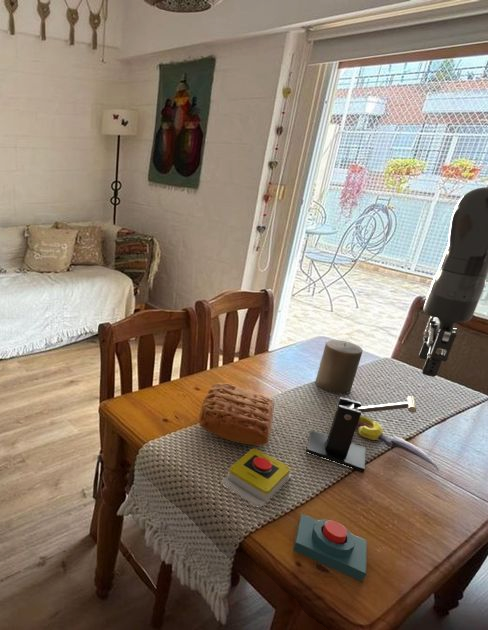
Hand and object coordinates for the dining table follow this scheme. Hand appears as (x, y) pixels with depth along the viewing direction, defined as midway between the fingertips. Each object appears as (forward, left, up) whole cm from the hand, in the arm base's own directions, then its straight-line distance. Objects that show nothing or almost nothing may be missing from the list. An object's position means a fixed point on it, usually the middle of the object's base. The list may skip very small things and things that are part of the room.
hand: (426, 366), depth 91 cm
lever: (+5, 0, -14) cm, 14 cm away
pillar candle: (+13, -35, -28) cm, 47 cm away
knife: (0, -12, -28) cm, 30 cm away
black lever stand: (+10, 0, -27) cm, 29 cm away
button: (+9, +32, -24) cm, 41 cm away
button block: (+9, +32, -27) cm, 43 cm away
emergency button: (+24, +21, -28) cm, 42 cm away
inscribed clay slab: (+33, +4, -28) cm, 44 cm away
